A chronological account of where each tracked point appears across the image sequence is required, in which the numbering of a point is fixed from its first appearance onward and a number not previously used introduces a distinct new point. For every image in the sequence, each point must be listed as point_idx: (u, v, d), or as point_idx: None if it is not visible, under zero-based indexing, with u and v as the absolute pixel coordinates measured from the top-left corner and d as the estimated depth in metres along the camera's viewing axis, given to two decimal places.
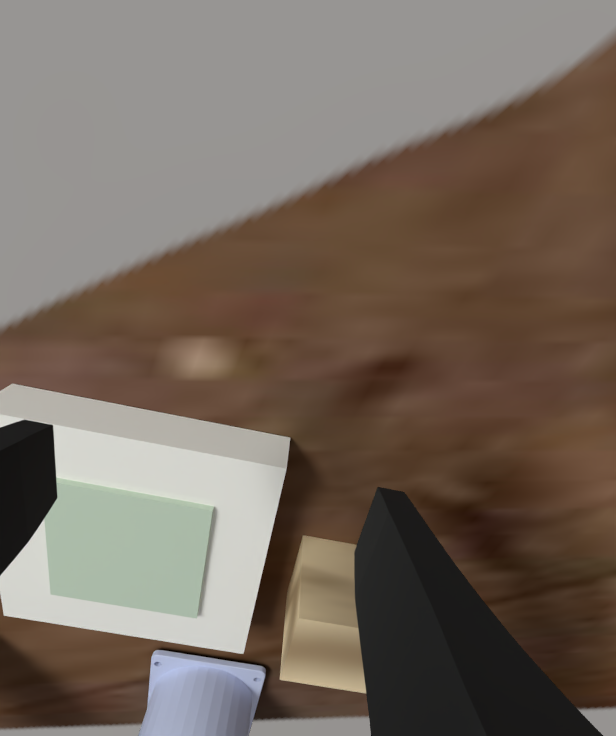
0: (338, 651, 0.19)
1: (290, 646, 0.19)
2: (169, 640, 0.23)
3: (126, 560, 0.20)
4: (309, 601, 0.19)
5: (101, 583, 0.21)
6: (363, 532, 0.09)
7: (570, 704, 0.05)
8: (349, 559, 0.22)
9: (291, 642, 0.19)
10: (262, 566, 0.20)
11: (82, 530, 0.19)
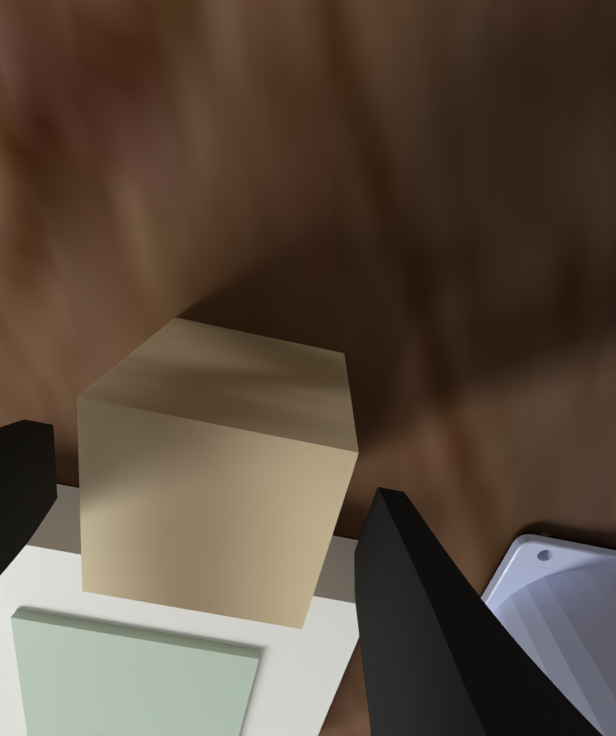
0: (176, 528, 0.08)
1: (182, 606, 0.09)
2: (332, 688, 0.14)
3: (143, 708, 0.14)
4: None
5: (195, 735, 0.15)
6: (363, 532, 0.09)
7: (570, 702, 0.05)
8: None
9: (170, 603, 0.09)
10: None
11: (98, 733, 0.15)
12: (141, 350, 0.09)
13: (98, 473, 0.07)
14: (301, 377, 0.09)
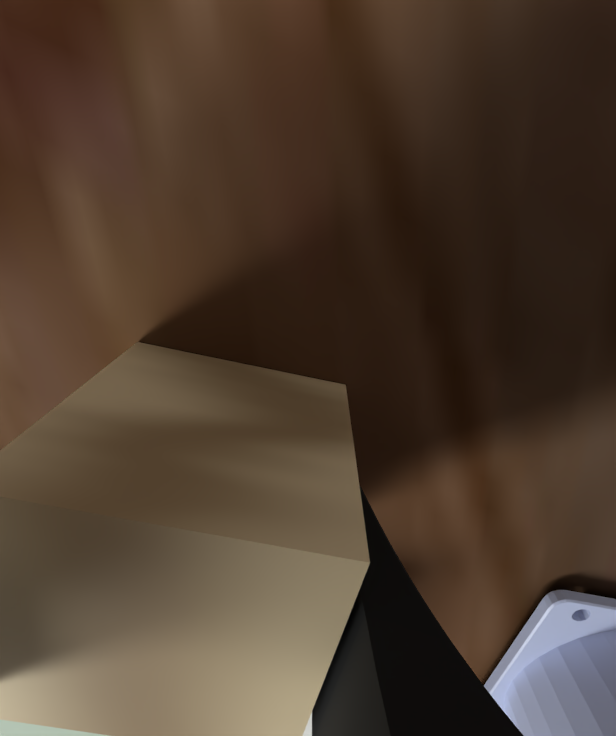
0: (116, 650, 0.06)
1: (133, 735, 0.07)
2: None
3: None
4: None
5: None
6: None
7: (486, 689, 0.05)
8: None
9: (117, 731, 0.07)
10: None
11: None
12: (77, 396, 0.07)
13: None
14: (291, 427, 0.07)
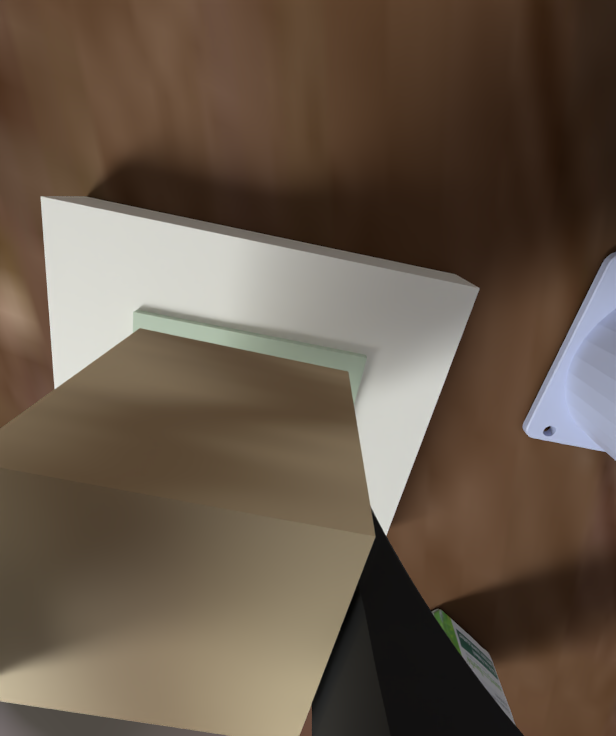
0: (120, 629, 0.06)
1: (136, 718, 0.07)
2: (430, 405, 0.14)
3: None
4: None
5: None
6: None
7: (486, 689, 0.05)
8: None
9: (120, 714, 0.07)
10: (249, 242, 0.12)
11: None
12: (80, 377, 0.07)
13: (2, 561, 0.05)
14: (294, 410, 0.07)
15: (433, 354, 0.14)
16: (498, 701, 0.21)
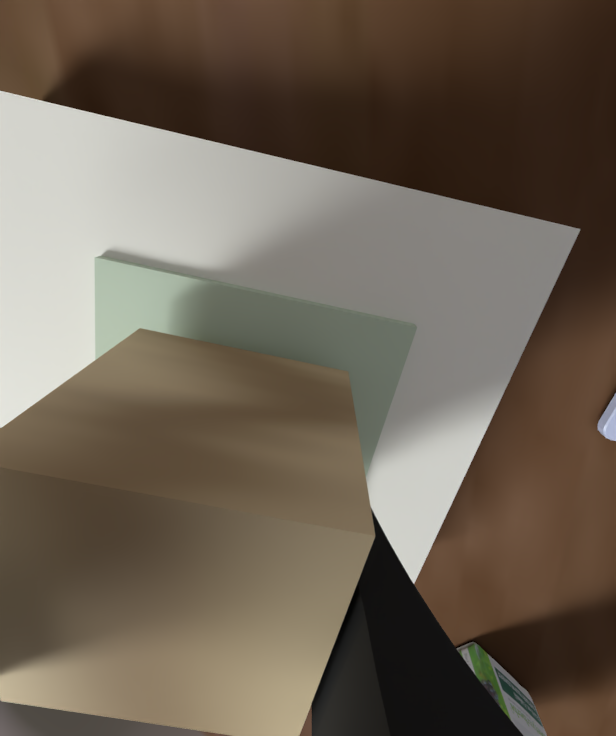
0: (120, 628, 0.06)
1: (136, 717, 0.07)
2: (496, 394, 0.11)
3: None
4: None
5: None
6: None
7: None
8: None
9: (120, 713, 0.07)
10: (259, 156, 0.09)
11: None
12: (81, 377, 0.07)
13: (3, 561, 0.05)
14: (294, 410, 0.07)
15: (506, 324, 0.10)
16: None
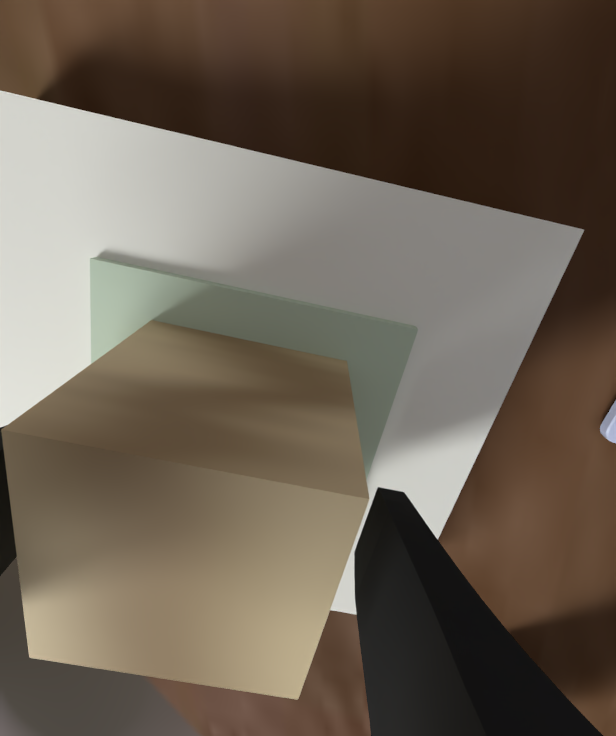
0: (140, 587, 0.06)
1: (152, 673, 0.07)
2: (498, 397, 0.11)
3: None
4: None
5: None
6: (363, 532, 0.09)
7: (569, 702, 0.05)
8: None
9: (137, 670, 0.07)
10: (257, 155, 0.08)
11: None
12: (101, 363, 0.07)
13: (36, 524, 0.06)
14: (296, 394, 0.08)
15: (509, 326, 0.10)
16: None
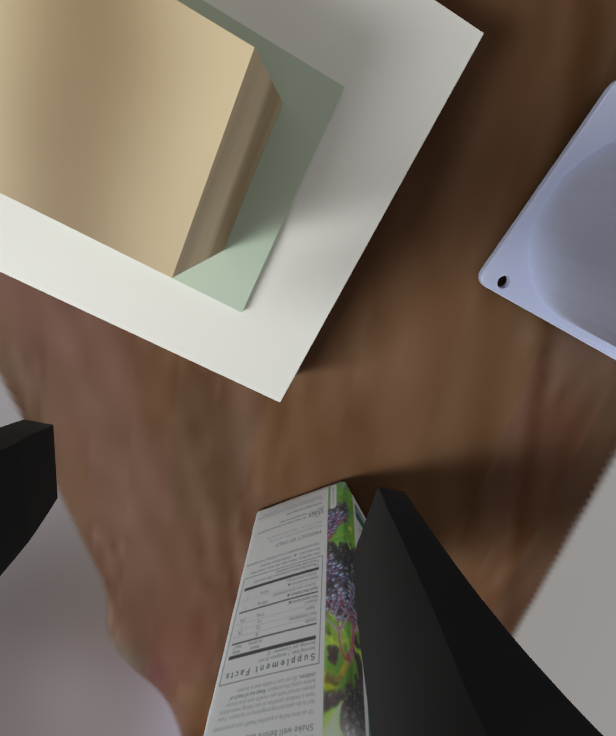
0: (69, 106, 0.08)
1: (60, 221, 0.09)
2: (396, 180, 0.13)
3: None
4: None
5: None
6: (363, 532, 0.09)
7: (570, 703, 0.05)
8: None
9: (49, 215, 0.09)
10: None
11: None
12: None
13: (1, 7, 0.08)
14: None
15: (415, 110, 0.12)
16: None
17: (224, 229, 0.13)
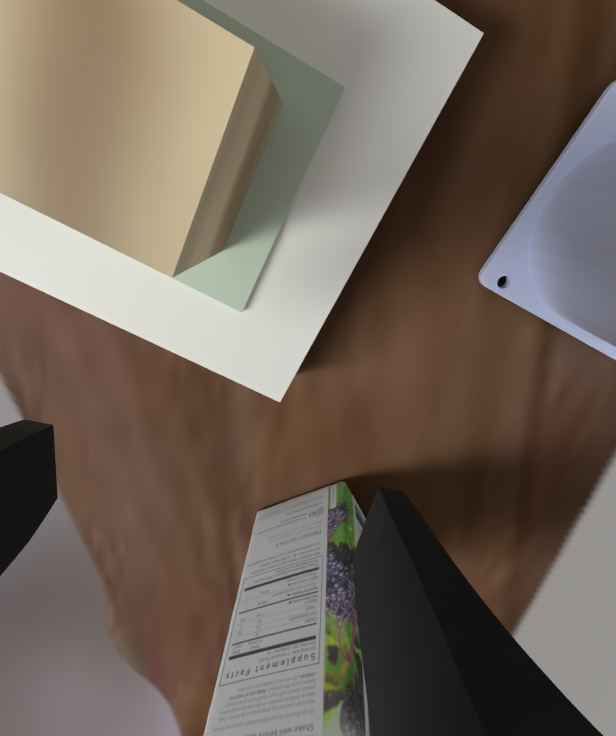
0: (69, 106, 0.08)
1: (60, 221, 0.09)
2: (396, 180, 0.13)
3: None
4: None
5: None
6: (363, 532, 0.09)
7: (570, 703, 0.05)
8: None
9: (49, 215, 0.09)
10: None
11: None
12: None
13: (1, 7, 0.08)
14: None
15: (415, 110, 0.12)
16: None
17: (224, 229, 0.13)
